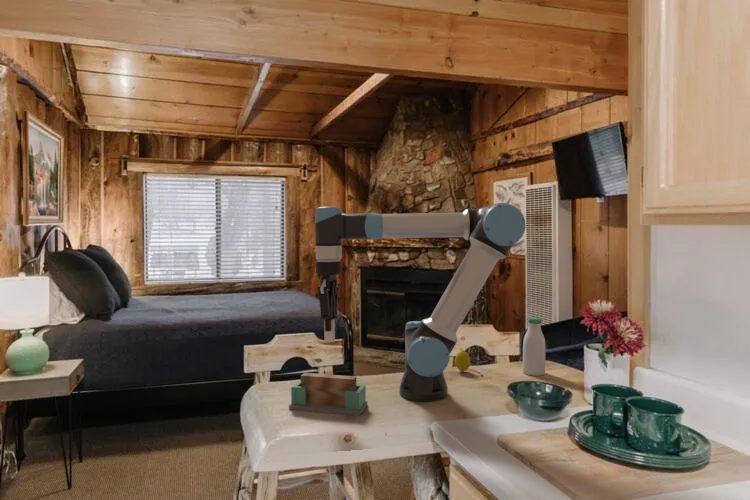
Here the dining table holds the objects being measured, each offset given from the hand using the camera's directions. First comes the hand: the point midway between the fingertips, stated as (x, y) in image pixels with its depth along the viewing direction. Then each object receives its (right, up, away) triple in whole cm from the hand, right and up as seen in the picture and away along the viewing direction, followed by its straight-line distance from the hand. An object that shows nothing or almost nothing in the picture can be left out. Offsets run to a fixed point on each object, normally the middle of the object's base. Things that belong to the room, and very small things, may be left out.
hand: (329, 341), depth 153 cm
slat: (0, -18, +1) cm, 18 cm away
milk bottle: (+70, -18, +37) cm, 82 cm away
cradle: (0, -19, +1) cm, 19 cm away
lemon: (+45, -18, +38) cm, 62 cm away
